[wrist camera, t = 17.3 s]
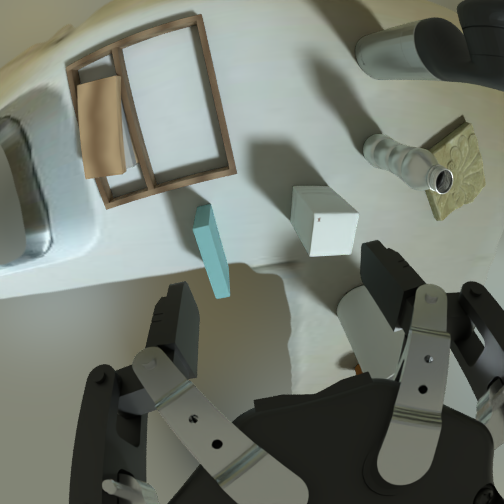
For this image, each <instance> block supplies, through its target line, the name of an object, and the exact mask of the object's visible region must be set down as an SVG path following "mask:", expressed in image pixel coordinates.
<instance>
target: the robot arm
mask: <svg viewBox="0 0 504 504" xmlns="http://www.w3.org/2000/svg"><path fill="white" fill-rule="evenodd" d="M457 13H458V17H459V21H460V24H461V27H462V30H463V34H464V35H463V34H462V32H461V31H460V30H459V29H458V28H457V27H456V26H455V25H454V24H452V23H451V22H449V21H447V20H445V19H442V18H428V19H424V20H419V21H415V22H411V23H407V24H403V25H399V26H396V27H392V28H389V29H385V30H382V31H379V32H376V33H373V34H370V35H367V36H364V37H362V38H361V39H360V40H359V41H358V42H357V45H356V49H355V54H356V59H357V62H358V64H359V66H360V67H361V68H362V70H363V71H364V72H365V73H366V74H368V75H369V76H370V77H372V78H374V79H378V80H436V81H449V82H463V83H470V84H476V85H481V86H485V87H489V88H493V89H496V90H500V91H504V0H464V1H462V2H461V3H460V4H459V5H458V6H457ZM360 274H361V279H362V282H363V284H364V285H365V287H366V288H367V290H368V291H369V293H370V295H371V296H372V298H373V299H374V301H375V302H376V304H377V306H378V307H379V309H380V310H381V312H382V314H383V315H384V317H385V319H386V320H387V322H388V323H389V325H390V327H391V328H392V330H393V332H396V331H399V330H402V329H403V331H404V333H405V334H404V337H403V341H402V346H401V350H400V354H399V358H398V362H397V366H396V370H395V373H394V376H393V379H392V380H390V379H384V378H371V376H370V373H369V371H367V372H364V373H361V374H358V375H355V376H352V377H349V378H346V379H342V380H340V381H339V382H337V383H335V384H333V385H331V386H330V387H328V388H326V389H324V390H322V391H320V392H318V393H316V394H304V395H278V396H273V397H268V398H262V399H257V400H254V406H255V408H252V409H250V410H248V411H247V412H245V413H243V414H241V415H240V416H238V417H237V418H236V419H235V420H234V421H233V422H230V421H229V420H228V419H227V418H226V417H225V416H224V415H223V414H222V413H221V412H220V411H219V410H218V409H217V408H216V407H215V406H214V405H213V404H212V403H211V402H210V401H209V400H208V399H207V398H206V397H205V396H204V395H203V394H202V393H201V392H200V391H199V390H198V389H197V388H196V386H195V385H194V384H193V383H192V382H191V381H188V379H190V378H197V361H198V339H199V322H200V317H199V311H198V307H197V305H196V302H195V300H194V298H193V295H192V293H191V290H190V288H189V286H188V284H187V282H186V281H185V282H180V283H175V284H170V285H169V288H168V293H167V296H166V297H161V299H160V300H159V301H158V303H157V304H156V306H155V309H154V313H153V317H152V323H151V325H150V330H149V334H148V338H147V343H146V347H145V349H143V350H141V351H140V352H139V353H138V354H137V355H136V356H135V358H134V360H133V363H132V365H130V366H127V367H124V368H122V369H119V370H116V371H115V370H114V369H113V368H112V367H111V366H110V365H106V364H103V365H99V366H97V367H96V368H94V369H93V370H92V371H91V372H90V374H89V376H88V378H87V382H86V387H85V390H84V395H83V400H82V404H81V409H80V414H79V419H78V425H77V430H76V437H75V443H74V450H73V458H72V467H71V477H70V492H69V504H160V503H159V501H158V496H157V493H156V491H155V489H154V488H153V487H152V486H151V485H150V484H148V483H146V443H147V442H146V441H147V418H148V412H151V411H154V410H158V411H159V413H160V414H161V416H162V417H163V418H164V420H165V421H166V423H167V424H168V425H169V426H170V428H171V429H172V430H173V432H174V433H175V434H176V435H177V437H178V438H179V439H180V441H181V442H182V443H183V444H184V445H185V447H186V448H187V449H188V450H189V451H190V453H191V454H192V455H193V456H194V457H195V458H196V459H197V461H198V462H199V463H200V465H199V466H198V467H197V468H196V470H195V471H194V472H193V474H192V475H191V476H190V477H189V479H188V480H187V481H186V482H185V483H184V485H183V486H182V487H181V488H180V490H179V491H178V492H177V493H176V494H175V495H174V497H173V498H172V499H171V500H170V501H169V502H168V504H504V499H503V498H502V497H501V496H500V494H499V493H498V491H497V490H496V488H495V486H494V482H493V456H494V450H495V449H496V448H498V447H499V446H500V445H502V444H503V443H504V310H503V309H502V308H501V306H500V305H499V304H498V303H497V301H496V300H495V299H494V298H493V297H492V295H491V294H490V293H489V292H488V291H487V289H486V288H485V287H484V286H483V285H481V284H479V283H477V282H473V281H470V282H466V283H465V284H463V286H462V289H461V292H457V293H445V291H444V290H443V289H442V288H440V287H439V286H437V285H434V284H426V283H425V282H424V281H423V279H422V278H421V277H420V276H419V275H418V274H417V273H416V271H415V270H414V269H413V268H412V267H411V266H410V265H409V264H408V263H407V262H406V261H405V259H404V258H403V257H402V256H401V255H400V254H399V253H398V252H396V251H394V250H392V249H390V248H388V249H386V248H385V247H384V246H383V245H382V243H381V242H380V241H378V240H375V241H371V242H366V243H363V244H362V246H361V265H360ZM475 327H476V328H477V329H478V331H479V332H480V334H481V335H482V337H483V338H484V341H485V347H484V346H483V344H482V343H481V341H480V340H479V338H478V336H477V335H476V334H475V332H474V328H475ZM450 349H451V351H452V352H453V354H454V356H455V358H456V359H457V361H458V363H459V365H460V367H461V369H462V370H463V372H464V374H465V376H466V378H467V380H468V382H469V384H470V386H471V388H472V390H473V392H474V394H475V396H476V398H477V400H478V403H477V407H476V408H477V409H476V411H477V414H476V417H475V418H476V419H474V418H471V417H469V416H467V415H465V414H463V413H461V412H459V411H456V410H454V409H452V408H450V407H448V406H446V405H444V404H443V401H444V395H445V389H446V382H447V374H448V365H449V355H450Z"/></svg>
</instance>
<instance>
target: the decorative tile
mask: <svg viewBox="0 0 504 504" xmlns="http://www.w3.org/2000/svg"><path fill="white" fill-rule="evenodd" d="M428 151H430V152H431V153H432V154H433V155H434V156H435V157H436V159H437V161H438V163H439V164H440V165H442V166H444V167H445V168H447V169H449V170H450V171H451V172H452V175H453V184H452V187H451V189H450V190H449V191H448V192H447V193H445V194H439V193H437V192H436V191H433V190H431V189H428V190H425V192H426V194H427V198H428V201H429V203H430V206H431V209H432V212H433V215H434V218H435V219H436V220H437V221H439V220H440V221H442V220H444V219H445V218H446V217H447V216H448V215H449V214H450V213H451V212H452V211H454V210H455V209H458V208H460V207H462V205H463V204H468V203H472V202H473V200H474V198H475V197H476V196H477V195H478V194H479V193H480V192H481V190H482V188H483V187H484V186H485V185H486V183H485V177H484V171H483V162H482V156H481V154H480V152H479V148H478V141H477V138H476V136H475V134H474V130H473V126H472V124H471V123H467V122H465V123H463V124H462V125H461V126H460V127H458V128H457V129H456V130H454V131H453V132H452V133H450V134H449V135H448V136H446V137H445V138H444V139H443V140H441V141H440V142H439V143H437V144H436V145H435V146H433V147H432V148H431V149H429V150H428Z"/></svg>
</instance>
